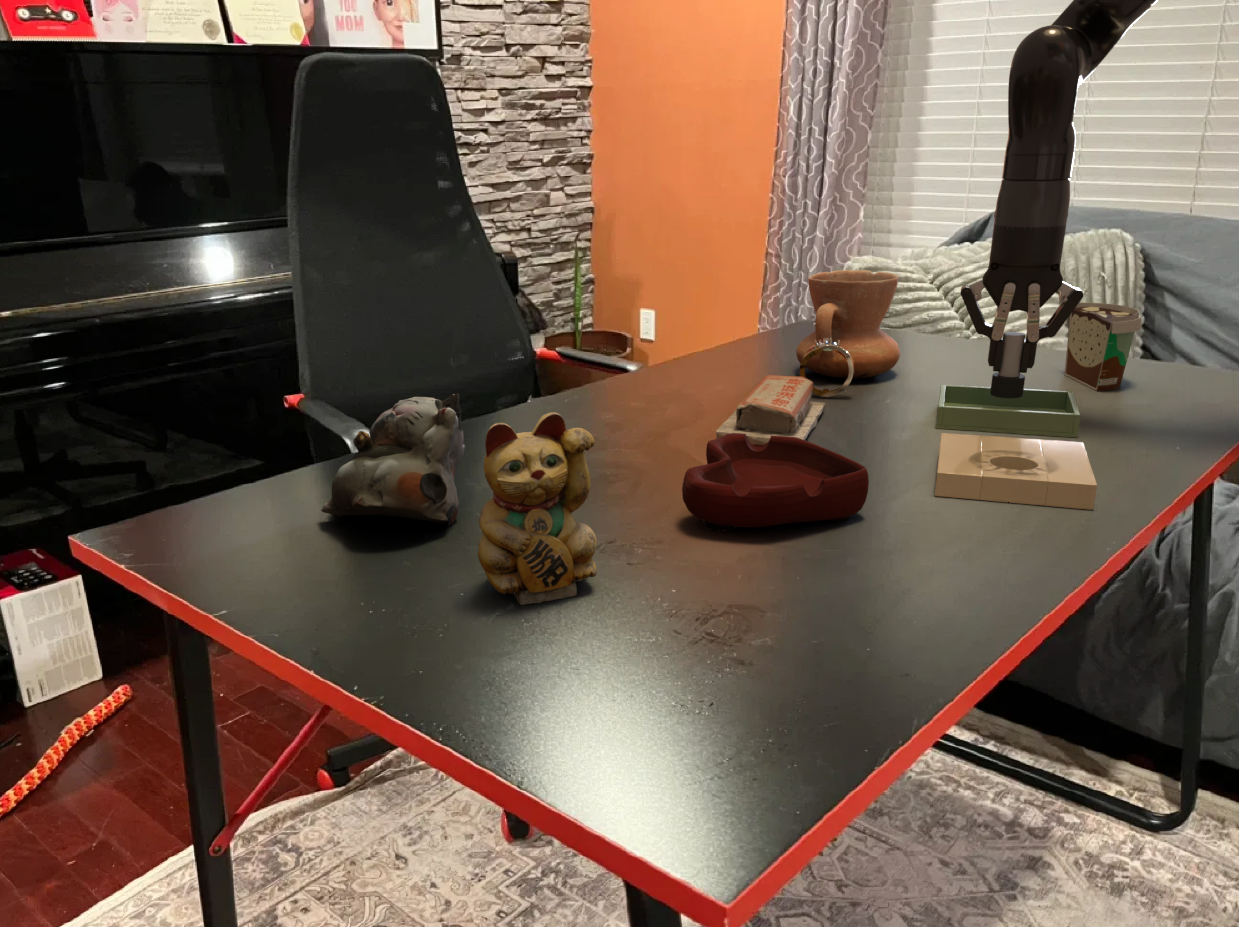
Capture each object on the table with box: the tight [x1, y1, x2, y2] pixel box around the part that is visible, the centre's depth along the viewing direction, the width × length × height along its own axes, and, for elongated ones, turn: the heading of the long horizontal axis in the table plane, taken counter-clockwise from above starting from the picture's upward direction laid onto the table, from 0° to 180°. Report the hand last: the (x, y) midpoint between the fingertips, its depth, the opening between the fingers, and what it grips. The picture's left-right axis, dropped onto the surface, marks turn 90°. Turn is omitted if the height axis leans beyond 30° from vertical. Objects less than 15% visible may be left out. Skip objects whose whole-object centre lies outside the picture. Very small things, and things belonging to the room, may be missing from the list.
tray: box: [935, 384, 1082, 438], centre depth 123 cm, size 15×11×3 cm
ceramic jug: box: [795, 269, 901, 379], centre depth 145 cm, size 18×14×14 cm
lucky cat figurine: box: [319, 393, 466, 526], centre depth 98 cm, size 15×12×14 cm
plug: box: [990, 331, 1026, 398], centre depth 121 cm, size 4×4×7 cm
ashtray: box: [681, 433, 870, 532], centre depth 97 cm, size 18×16×5 cm
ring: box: [799, 337, 855, 398], centre depth 135 cm, size 7×3×8 cm, turn 66°
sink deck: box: [934, 432, 1098, 511], centre depth 103 cm, size 14×14×2 cm
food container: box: [1063, 302, 1142, 392], centre depth 137 cm, size 12×6×10 cm, turn 179°
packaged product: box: [715, 374, 827, 446], centre depth 123 cm, size 18×5×10 cm
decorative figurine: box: [477, 412, 598, 605], centre depth 81 cm, size 10×8×15 cm
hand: (1009, 370), depth 121 cm, fingers closed on plug, 2 cm apart
